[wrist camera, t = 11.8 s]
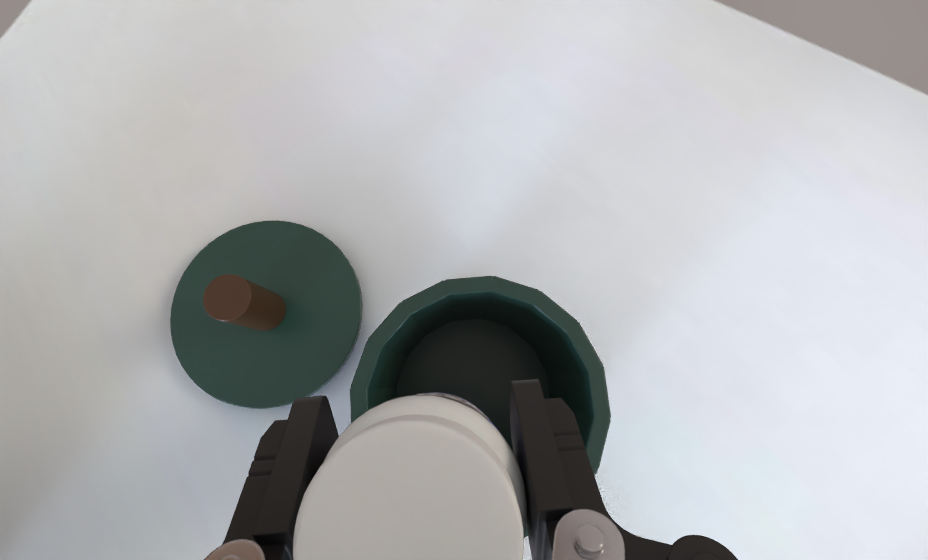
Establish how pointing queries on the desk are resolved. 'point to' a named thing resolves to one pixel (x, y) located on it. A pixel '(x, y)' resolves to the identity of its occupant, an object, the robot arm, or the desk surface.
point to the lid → (266, 314)
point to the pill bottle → (415, 488)
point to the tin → (485, 354)
